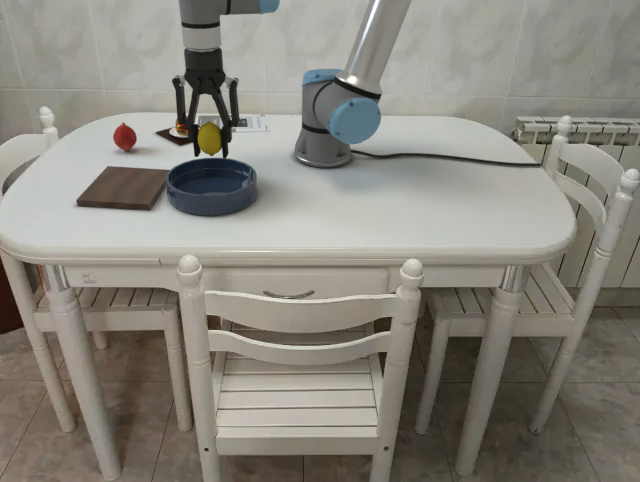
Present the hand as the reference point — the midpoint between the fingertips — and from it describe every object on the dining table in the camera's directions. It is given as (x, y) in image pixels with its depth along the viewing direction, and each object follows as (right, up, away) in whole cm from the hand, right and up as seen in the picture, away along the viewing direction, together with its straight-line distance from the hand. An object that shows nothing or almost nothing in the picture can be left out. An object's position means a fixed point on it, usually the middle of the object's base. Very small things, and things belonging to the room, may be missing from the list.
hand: (211, 154), depth 124 cm
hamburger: (-14, +11, +36) cm, 41 cm away
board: (-21, -7, +6) cm, 23 cm away
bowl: (-1, -9, +5) cm, 10 cm away
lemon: (0, 0, 0) cm, 1 cm away
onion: (-27, +5, +25) cm, 37 cm away
